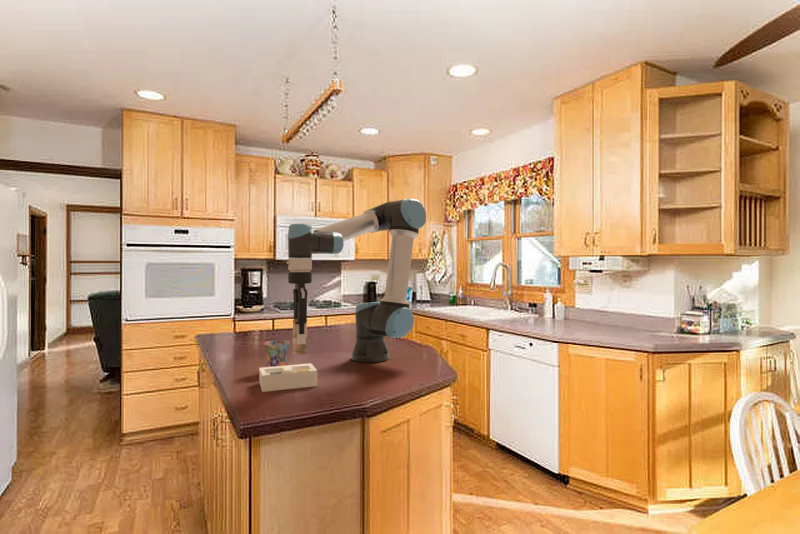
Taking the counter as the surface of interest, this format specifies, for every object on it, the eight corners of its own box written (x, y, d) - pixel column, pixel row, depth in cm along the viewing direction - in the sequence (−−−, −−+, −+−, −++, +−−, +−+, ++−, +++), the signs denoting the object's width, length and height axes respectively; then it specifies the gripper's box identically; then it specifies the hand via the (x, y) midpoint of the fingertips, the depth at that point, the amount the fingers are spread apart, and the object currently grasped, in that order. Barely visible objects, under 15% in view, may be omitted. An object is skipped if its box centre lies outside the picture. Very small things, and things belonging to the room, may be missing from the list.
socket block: (311, 377, 157) (311, 362, 157) (317, 386, 147) (317, 369, 146) (259, 382, 151) (259, 367, 151) (262, 391, 140) (261, 375, 140)
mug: (291, 373, 163) (291, 344, 163) (264, 376, 159) (264, 345, 159) (287, 366, 174) (287, 338, 174) (261, 368, 171) (261, 340, 170)
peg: (305, 351, 153) (305, 318, 153) (307, 353, 149) (307, 320, 148) (292, 352, 151) (292, 318, 151) (293, 354, 147) (294, 320, 147)
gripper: (284, 271, 156) (284, 339, 156) (292, 271, 140) (292, 348, 140) (307, 270, 159) (307, 338, 159) (316, 271, 143) (316, 346, 143)
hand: (300, 342), depth 150 cm, fingers closed on peg, 4 cm apart
